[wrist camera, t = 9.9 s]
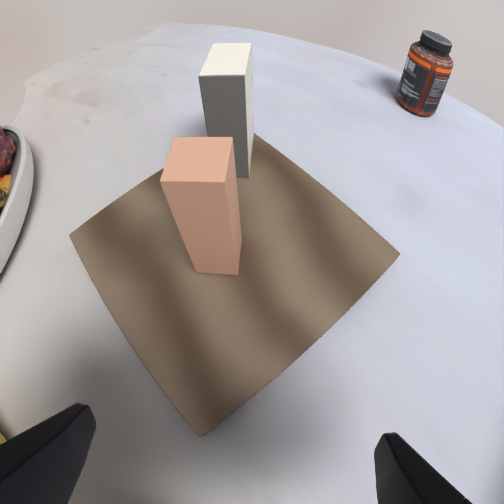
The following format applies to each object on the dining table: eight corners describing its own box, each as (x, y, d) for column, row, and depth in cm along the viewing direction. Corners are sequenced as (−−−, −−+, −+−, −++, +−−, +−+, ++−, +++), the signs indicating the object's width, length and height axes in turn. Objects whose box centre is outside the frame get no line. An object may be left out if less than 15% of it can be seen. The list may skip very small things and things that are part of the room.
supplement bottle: (439, 110, 35) (464, 46, 25) (425, 124, 33) (454, 52, 23) (404, 88, 37) (424, 24, 27) (387, 100, 35) (408, 28, 25)
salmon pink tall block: (237, 275, 22) (224, 182, 13) (196, 272, 22) (159, 181, 14) (241, 238, 24) (232, 137, 15) (202, 236, 24) (174, 137, 15)
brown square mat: (202, 435, 18) (199, 436, 17) (74, 241, 26) (68, 235, 25) (395, 260, 24) (400, 253, 23) (240, 132, 31) (240, 123, 30)
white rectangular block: (248, 178, 27) (244, 76, 18) (214, 177, 27) (198, 77, 18) (253, 135, 29) (251, 43, 20) (223, 135, 30) (213, 43, 20)
